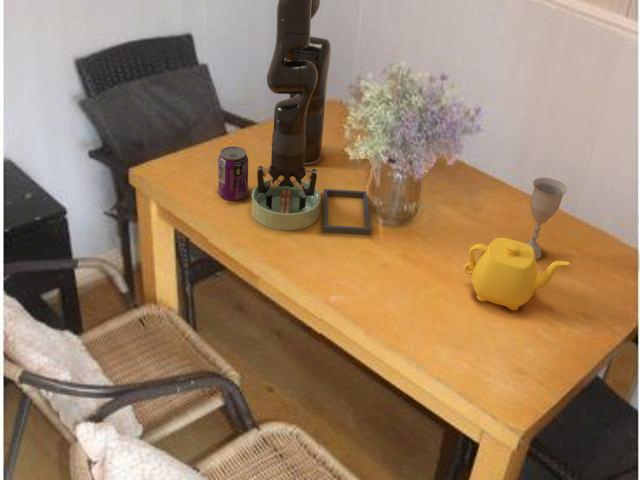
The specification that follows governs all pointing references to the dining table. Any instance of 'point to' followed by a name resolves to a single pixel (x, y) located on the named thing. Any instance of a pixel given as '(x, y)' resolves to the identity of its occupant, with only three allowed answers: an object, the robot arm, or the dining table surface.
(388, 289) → the dining table surface
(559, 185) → the chalice
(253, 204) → the bowl
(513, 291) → the teapot
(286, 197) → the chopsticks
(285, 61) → the robot arm
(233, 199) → the beverage can
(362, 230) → the tray
